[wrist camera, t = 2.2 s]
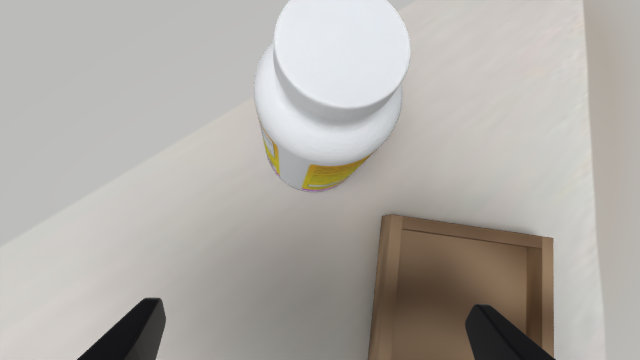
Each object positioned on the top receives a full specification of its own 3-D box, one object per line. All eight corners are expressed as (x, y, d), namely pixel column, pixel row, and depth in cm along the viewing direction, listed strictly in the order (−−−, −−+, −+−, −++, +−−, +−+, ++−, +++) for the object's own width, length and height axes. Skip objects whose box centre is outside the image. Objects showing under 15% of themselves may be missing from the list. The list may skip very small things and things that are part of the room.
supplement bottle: (372, 137, 24) (474, 26, 11) (325, 211, 22) (380, 180, 10) (298, 88, 24) (316, -79, 11) (247, 159, 22) (199, 60, 10)
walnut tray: (529, 408, 21) (554, 425, 20) (364, 393, 20) (373, 409, 18) (530, 237, 24) (553, 238, 22) (381, 216, 23) (391, 214, 21)
